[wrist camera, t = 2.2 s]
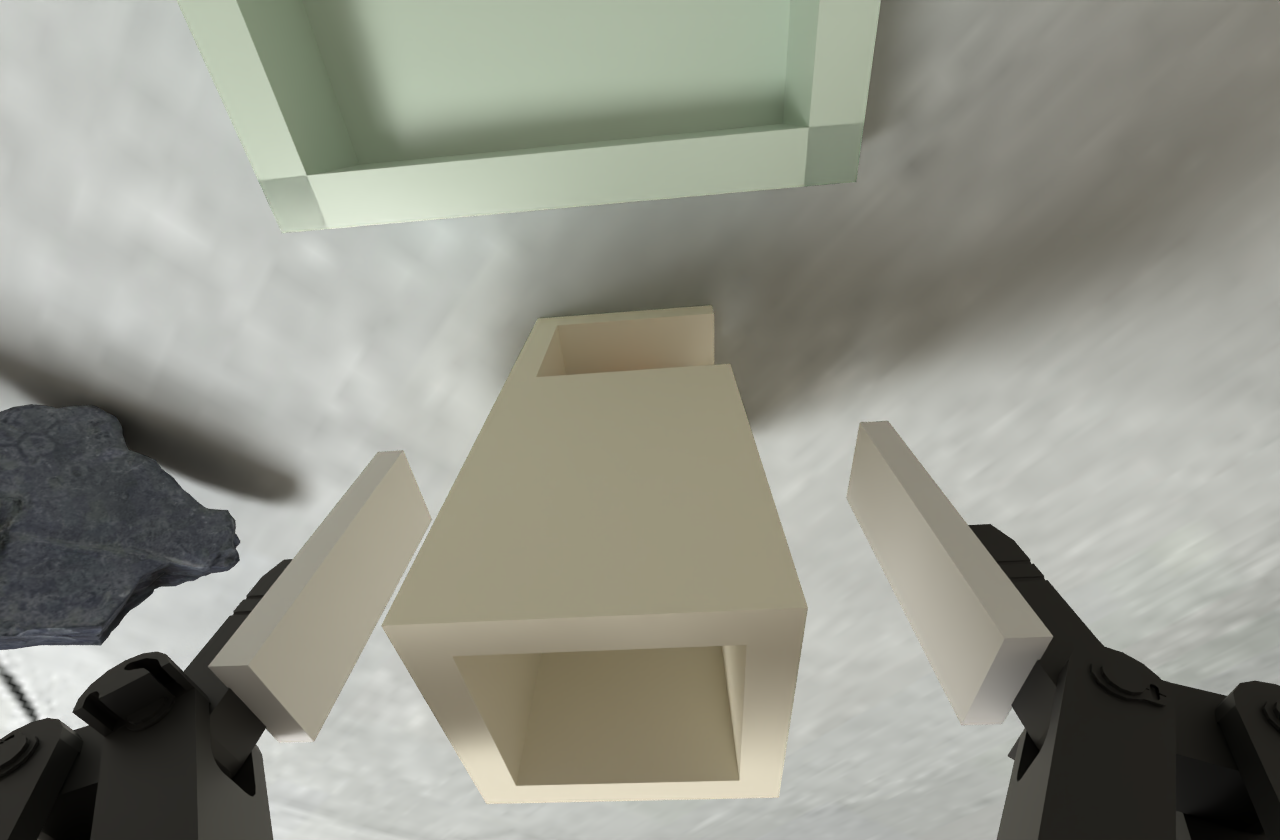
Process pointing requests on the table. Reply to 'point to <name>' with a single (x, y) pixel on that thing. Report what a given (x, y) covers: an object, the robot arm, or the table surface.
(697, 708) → the hollow box
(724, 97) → the tray
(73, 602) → the stone
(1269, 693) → the robot arm
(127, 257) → the table surface
